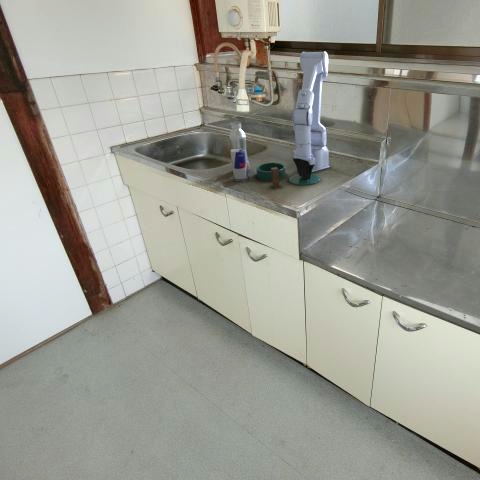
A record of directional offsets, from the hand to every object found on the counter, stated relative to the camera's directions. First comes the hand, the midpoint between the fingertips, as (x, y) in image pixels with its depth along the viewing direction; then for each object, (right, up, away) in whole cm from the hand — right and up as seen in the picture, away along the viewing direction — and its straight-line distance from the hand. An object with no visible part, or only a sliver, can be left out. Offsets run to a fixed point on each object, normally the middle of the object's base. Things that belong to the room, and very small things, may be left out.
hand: (304, 177), depth 140 cm
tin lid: (0, -1, 0) cm, 1 cm away
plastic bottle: (-27, +4, +11) cm, 29 cm away
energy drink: (-25, -1, +3) cm, 26 cm away
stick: (-11, -5, -4) cm, 12 cm away
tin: (-14, +1, +6) cm, 15 cm away
